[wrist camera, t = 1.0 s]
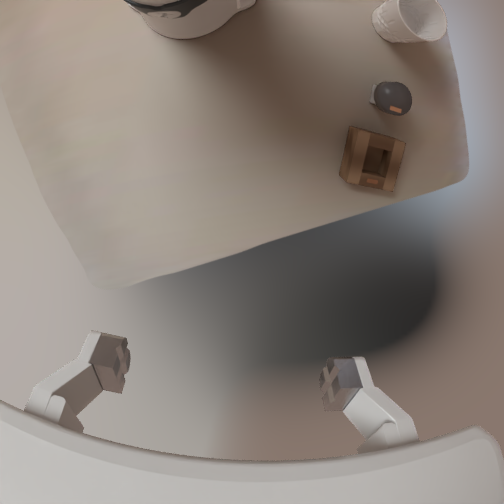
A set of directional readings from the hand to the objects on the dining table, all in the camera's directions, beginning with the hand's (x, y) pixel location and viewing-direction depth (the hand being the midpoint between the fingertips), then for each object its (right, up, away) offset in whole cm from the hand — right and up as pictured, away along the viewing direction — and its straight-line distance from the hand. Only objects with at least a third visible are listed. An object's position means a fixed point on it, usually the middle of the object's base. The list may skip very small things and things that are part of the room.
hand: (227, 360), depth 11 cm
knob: (+20, +28, +27) cm, 44 cm away
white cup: (+22, +39, +20) cm, 49 cm away
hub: (+19, +19, +32) cm, 42 cm away
